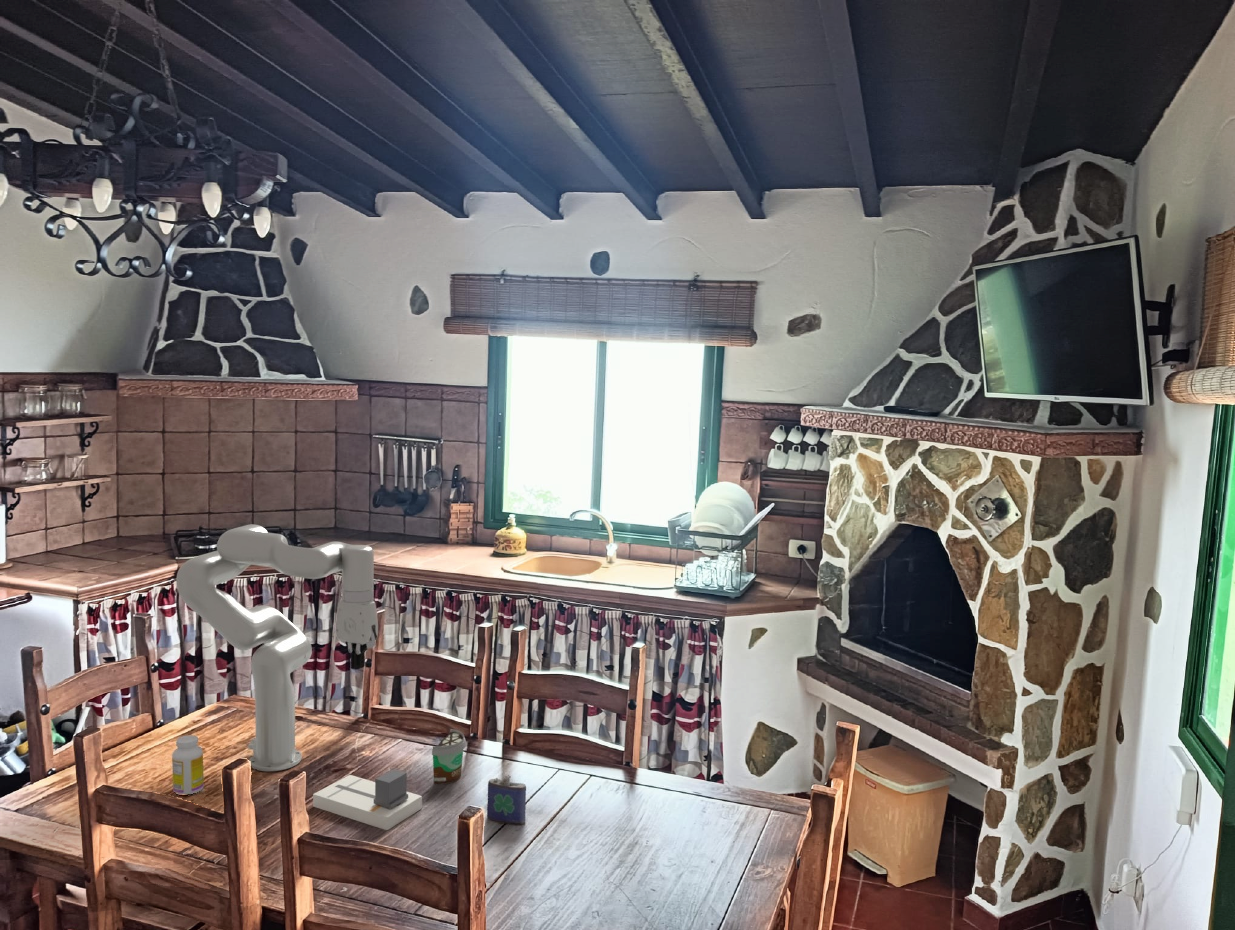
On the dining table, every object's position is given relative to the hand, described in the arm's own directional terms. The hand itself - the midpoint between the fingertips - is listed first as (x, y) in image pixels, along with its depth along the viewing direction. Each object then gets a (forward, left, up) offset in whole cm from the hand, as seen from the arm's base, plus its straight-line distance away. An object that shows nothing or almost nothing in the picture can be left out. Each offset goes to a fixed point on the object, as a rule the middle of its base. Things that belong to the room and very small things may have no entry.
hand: (357, 667), depth 232 cm
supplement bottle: (-27, -28, -27) cm, 48 cm away
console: (+15, -13, -27) cm, 34 cm away
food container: (+22, +10, -27) cm, 36 cm away
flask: (+46, -2, -27) cm, 54 cm away
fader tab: (+22, -13, -24) cm, 35 cm away
